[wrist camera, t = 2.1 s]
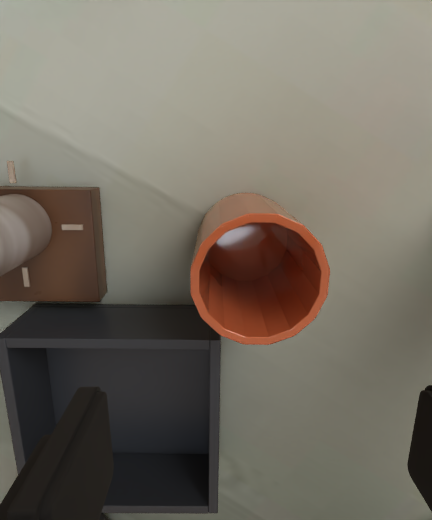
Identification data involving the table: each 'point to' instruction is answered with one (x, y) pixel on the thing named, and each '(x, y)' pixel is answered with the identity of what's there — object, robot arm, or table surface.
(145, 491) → the dark grey square tray
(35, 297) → the panel
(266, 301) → the cup
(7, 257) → the tap knob
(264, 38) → the table surface
